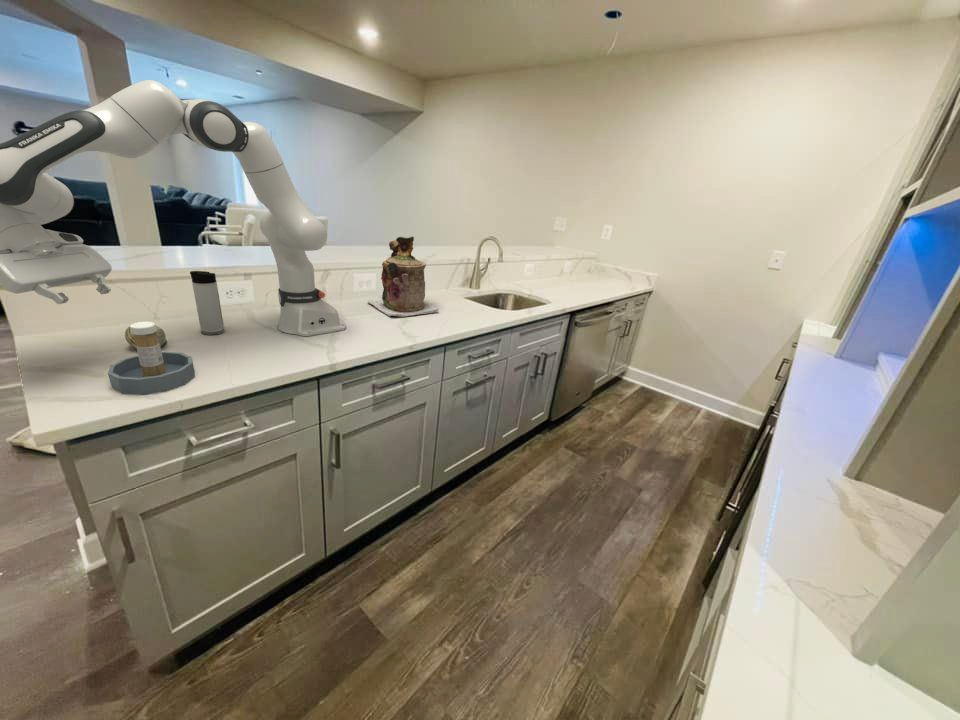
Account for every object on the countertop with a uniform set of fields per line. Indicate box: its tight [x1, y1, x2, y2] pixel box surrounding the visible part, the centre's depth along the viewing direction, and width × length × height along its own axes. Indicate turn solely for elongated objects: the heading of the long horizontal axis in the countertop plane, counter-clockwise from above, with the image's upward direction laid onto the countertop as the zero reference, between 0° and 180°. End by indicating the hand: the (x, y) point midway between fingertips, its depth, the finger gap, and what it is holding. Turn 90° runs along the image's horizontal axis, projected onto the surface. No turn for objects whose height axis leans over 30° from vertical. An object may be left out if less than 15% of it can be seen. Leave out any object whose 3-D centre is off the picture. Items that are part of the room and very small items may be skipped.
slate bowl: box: [107, 351, 196, 396], centre depth 94 cm, size 16×16×4 cm
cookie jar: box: [367, 235, 440, 318], centre depth 166 cm, size 25×25×32 cm
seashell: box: [124, 325, 168, 349], centre depth 109 cm, size 10×10×10 cm
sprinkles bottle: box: [129, 321, 166, 377], centre depth 92 cm, size 5×5×14 cm
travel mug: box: [189, 270, 225, 336], centre depth 121 cm, size 6×7×20 cm
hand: (86, 296), depth 88 cm, fingers open, 8 cm apart
